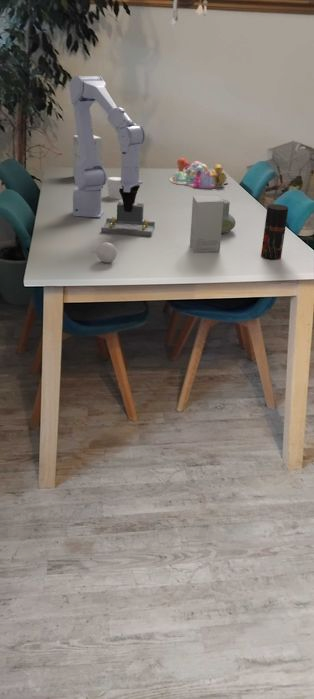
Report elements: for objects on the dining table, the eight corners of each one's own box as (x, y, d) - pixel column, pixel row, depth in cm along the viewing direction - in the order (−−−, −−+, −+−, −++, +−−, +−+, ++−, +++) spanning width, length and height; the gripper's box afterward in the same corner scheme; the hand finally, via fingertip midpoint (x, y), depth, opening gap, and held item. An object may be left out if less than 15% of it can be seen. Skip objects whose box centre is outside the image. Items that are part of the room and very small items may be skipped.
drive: (116, 220, 206) (117, 204, 203) (118, 217, 209) (118, 201, 207) (141, 222, 205) (142, 206, 203) (143, 218, 209) (143, 203, 206)
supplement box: (102, 179, 268) (102, 138, 260) (82, 181, 264) (82, 138, 256) (92, 174, 275) (92, 133, 268) (72, 176, 271) (72, 134, 263)
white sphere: (115, 258, 184) (116, 239, 181) (117, 265, 179) (117, 246, 176) (88, 258, 183) (89, 239, 180) (89, 265, 178) (89, 246, 175)
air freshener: (204, 234, 208) (207, 204, 203) (199, 227, 215) (201, 197, 211) (237, 234, 210) (240, 204, 205) (230, 227, 217) (233, 197, 212)
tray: (101, 232, 204) (101, 224, 203) (106, 222, 214) (106, 215, 213) (151, 236, 204) (151, 228, 202) (154, 226, 213) (154, 218, 212)
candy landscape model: (226, 178, 284) (228, 156, 280) (229, 191, 263) (232, 168, 259) (169, 175, 284) (170, 153, 280) (168, 187, 263) (170, 164, 259)
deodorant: (280, 261, 189) (288, 210, 182) (260, 258, 190) (267, 208, 183) (281, 254, 194) (288, 205, 187) (261, 252, 195) (268, 203, 188)
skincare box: (214, 245, 199) (219, 195, 191) (220, 252, 193) (225, 201, 186) (188, 245, 197) (192, 195, 190) (193, 253, 191) (197, 201, 184)
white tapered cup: (128, 198, 244) (128, 179, 241) (112, 200, 241) (113, 181, 237) (118, 193, 249) (119, 175, 246) (103, 195, 246) (103, 177, 242)
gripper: (140, 172, 193) (138, 216, 199) (145, 162, 206) (143, 204, 212) (117, 170, 193) (116, 215, 200) (123, 161, 206) (122, 203, 212)
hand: (129, 209), depth 206 cm, fingers closed on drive, 4 cm apart
